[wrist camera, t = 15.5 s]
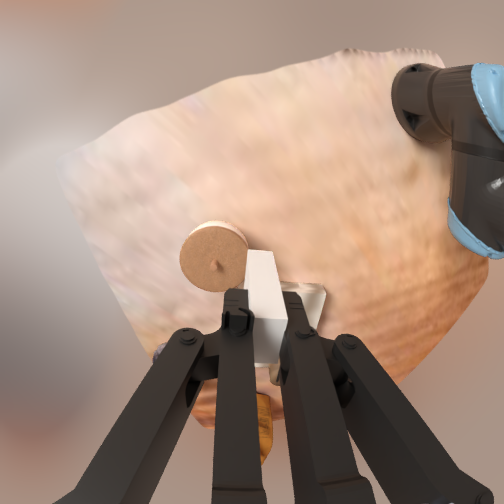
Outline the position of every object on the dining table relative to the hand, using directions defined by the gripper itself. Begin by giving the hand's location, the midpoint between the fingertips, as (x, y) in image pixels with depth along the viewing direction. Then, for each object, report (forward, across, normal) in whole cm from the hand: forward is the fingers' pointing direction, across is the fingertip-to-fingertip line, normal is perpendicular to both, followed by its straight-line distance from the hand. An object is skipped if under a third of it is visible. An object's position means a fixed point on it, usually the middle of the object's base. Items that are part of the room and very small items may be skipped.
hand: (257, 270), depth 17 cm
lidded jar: (+30, -4, -11) cm, 32 cm away
